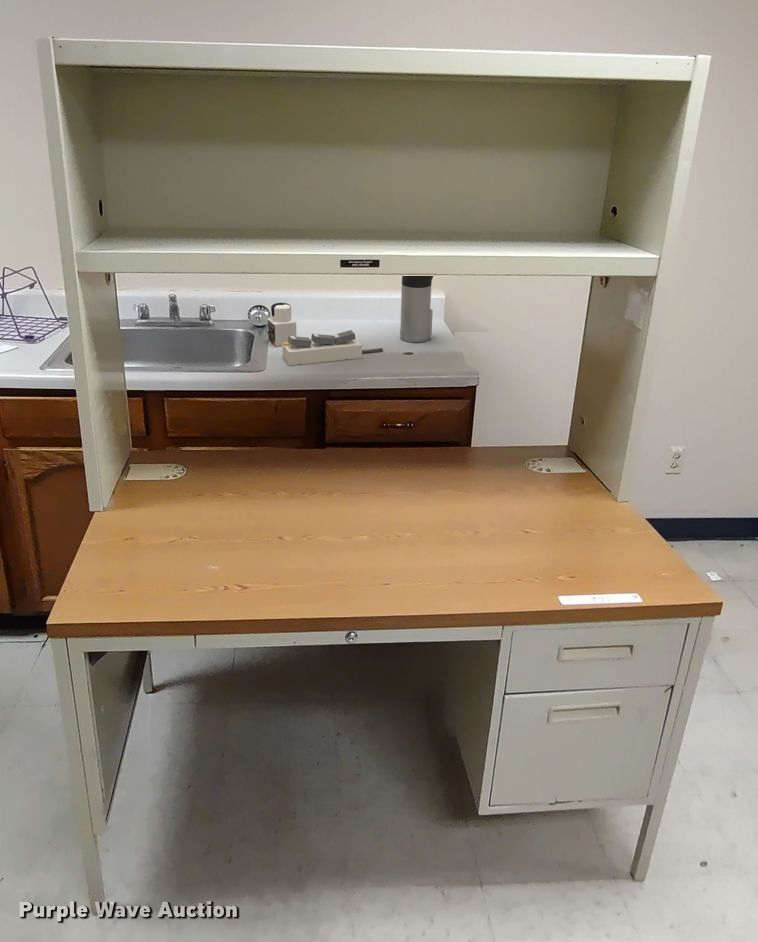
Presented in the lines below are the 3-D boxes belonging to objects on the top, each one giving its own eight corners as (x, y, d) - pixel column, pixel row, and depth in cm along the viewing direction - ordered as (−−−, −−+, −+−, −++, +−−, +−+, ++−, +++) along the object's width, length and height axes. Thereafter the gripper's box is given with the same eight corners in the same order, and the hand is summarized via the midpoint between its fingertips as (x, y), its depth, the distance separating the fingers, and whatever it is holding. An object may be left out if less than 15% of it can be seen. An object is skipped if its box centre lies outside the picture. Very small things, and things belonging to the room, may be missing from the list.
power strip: (377, 347, 233) (377, 332, 231) (386, 355, 226) (387, 340, 224) (282, 356, 223) (282, 341, 221) (289, 365, 217) (289, 350, 215)
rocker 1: (307, 343, 222) (308, 336, 221) (310, 346, 219) (311, 340, 218) (287, 341, 220) (288, 335, 219) (290, 345, 217) (291, 338, 216)
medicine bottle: (268, 340, 238) (266, 302, 232) (289, 337, 240) (288, 300, 235) (275, 346, 232) (273, 308, 226) (297, 344, 235) (295, 305, 229)
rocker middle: (330, 341, 224) (331, 334, 223) (333, 344, 221) (334, 338, 220) (311, 339, 222) (312, 333, 221) (314, 343, 219) (315, 336, 218)
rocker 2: (351, 335, 226) (350, 329, 225) (355, 339, 223) (354, 332, 222) (333, 340, 224) (331, 334, 223) (336, 344, 222) (335, 338, 221)
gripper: (338, 205, 209) (339, 268, 217) (292, 206, 205) (294, 271, 213) (347, 209, 203) (347, 273, 211) (299, 210, 199) (301, 277, 207)
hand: (320, 272), depth 212 cm, fingers closed
